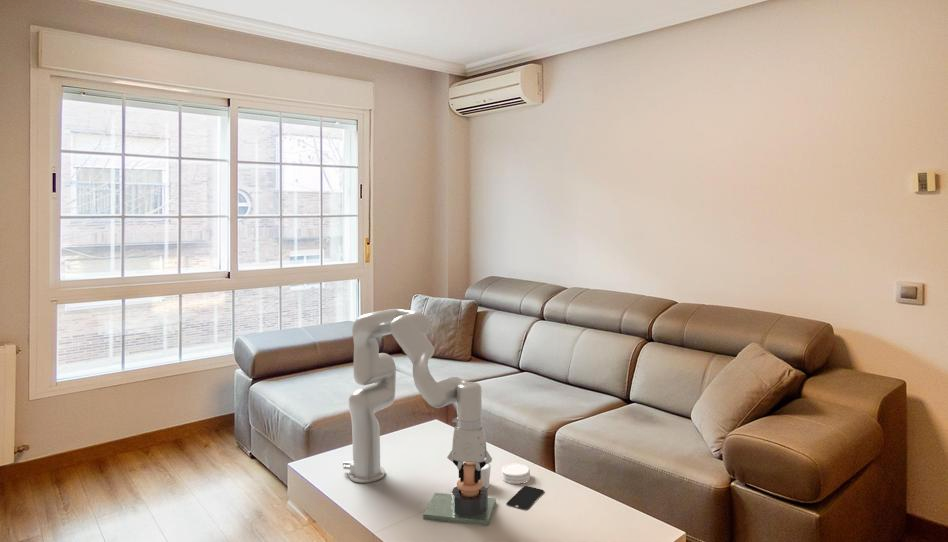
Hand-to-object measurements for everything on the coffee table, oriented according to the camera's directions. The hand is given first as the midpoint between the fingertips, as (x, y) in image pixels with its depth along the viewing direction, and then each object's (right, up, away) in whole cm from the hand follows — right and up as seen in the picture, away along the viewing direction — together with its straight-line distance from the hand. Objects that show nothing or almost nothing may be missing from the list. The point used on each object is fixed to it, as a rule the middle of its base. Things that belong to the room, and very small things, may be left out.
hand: (469, 480), depth 179 cm
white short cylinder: (+16, -8, +24) cm, 30 cm away
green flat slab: (-3, -10, +2) cm, 11 cm away
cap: (0, -5, 0) cm, 5 cm away
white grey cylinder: (+4, -9, +19) cm, 21 cm away
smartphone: (+18, -10, +10) cm, 23 cm away
